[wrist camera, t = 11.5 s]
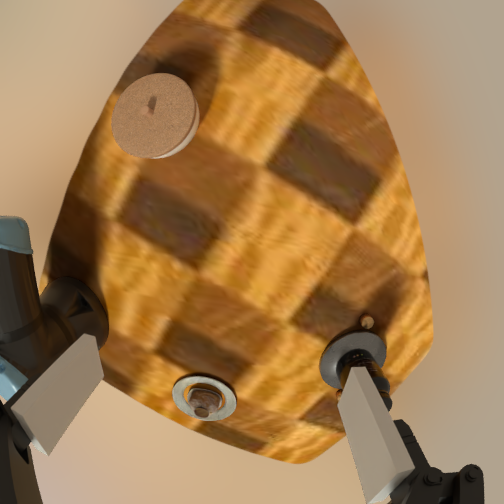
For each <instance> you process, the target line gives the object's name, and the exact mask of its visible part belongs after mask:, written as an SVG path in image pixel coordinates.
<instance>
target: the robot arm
mask: <svg viewBox="0 0 504 504" xmlns="http://www.w3.org/2000/svg"><path fill="white" fill-rule="evenodd" d="M32 254H33V250H32V249H31V243H30V236H29V228H28V225H27V223H26V221H25V220H24V219H22V218H20V217H15V216H0V395H1V396H2V397H3V398H4V399H5V400H7V402H6V403H5V404H4V405H3V403H2V402H1V400H0V504H43V502H42V499H41V495H40V491H39V488H38V484H37V479H36V475H35V471H34V465H33V460H32V455H31V449H30V447H29V444H30V442H32V443H33V445H34V446H35V448H36V449H37V450H39V451H40V452H42V453H44V454H45V455H47V456H49V455H50V453H51V452H52V450H53V449H54V447H55V446H56V444H57V442H58V441H59V440H60V438H61V437H62V435H63V434H64V432H65V431H66V429H67V428H68V426H69V425H70V423H71V422H72V421H73V419H74V417H75V416H76V415H77V413H78V412H79V410H80V409H81V407H82V406H83V405H84V403H85V402H86V400H87V399H88V398H89V396H90V395H91V393H92V392H93V391H94V389H95V388H96V386H97V385H98V384H99V383H100V381H101V380H102V378H103V377H104V374H103V370H102V366H101V362H100V357H99V353H98V351H99V350H100V348H101V347H102V346H103V345H104V344H105V342H106V340H107V337H108V330H109V329H108V321H107V317H106V314H105V311H104V309H103V307H102V305H101V303H100V301H99V300H98V298H97V297H96V295H95V294H94V293H93V292H92V291H91V290H90V289H89V288H88V287H87V286H86V285H85V284H84V283H82V282H81V281H79V280H77V279H75V278H71V277H60V278H58V279H56V280H54V281H52V282H51V283H49V284H48V285H47V286H46V287H45V289H44V291H43V292H42V294H41V295H40V296H39V293H38V288H37V283H36V277H35V271H34V264H33V257H32ZM337 406H338V409H339V412H340V415H341V418H342V421H343V425H344V428H345V431H346V434H347V438H348V441H349V444H350V448H351V451H352V454H353V458H354V461H355V464H356V468H357V471H358V475H359V478H360V482H361V485H362V489H363V493H364V496H365V500H366V504H371V503H376V502H380V501H383V500H384V499H385V498H387V497H388V496H389V495H390V498H391V501H390V502H389V503H388V504H484V480H483V472H482V470H481V469H480V467H478V466H477V465H473V464H470V465H466V466H465V467H463V468H462V469H461V470H460V471H459V472H453V473H443V472H441V470H439V469H437V468H435V467H430V465H429V464H428V462H427V460H426V458H425V456H424V454H423V452H422V450H421V448H420V446H419V444H418V443H417V440H416V438H415V436H413V433H412V431H411V429H410V427H409V425H407V424H406V423H405V422H404V421H403V420H402V419H400V420H394V421H393V420H392V418H391V416H390V414H389V412H388V410H387V408H386V406H385V404H384V402H383V400H382V398H381V396H380V394H379V392H378V390H377V388H376V386H375V384H374V383H373V381H372V379H371V377H370V375H369V373H368V371H367V369H366V367H351V370H350V373H349V376H348V379H347V382H346V384H345V387H344V390H343V392H342V395H341V398H340V400H339V403H338V405H337Z"/></svg>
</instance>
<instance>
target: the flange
mask: <svg viewBox="0 0 504 504" xmlns="http://www.w3.org/2000/svg"><path fill="white" fill-rule="evenodd" d="M359 321H360V323H361V325H362V326H363V328H365V329H369V328H371V327H372V326H373V324H374V320H373V318H372V317H371V316H370V315H369V314H363V315H362V316H361V317H360V319H359ZM354 349H365V350H367V351H369V352H370V353H371V354H372V356H373V357H374V359H375V360H376V362H377V363H378V365H379V367H380V368H382V366H383V364H384V362H385V359H386V347H385V344H384V342H383V341H382V339H381V338H380V337H379V336H378V335H377V334H375V333H374V332H371V331H367V330H356V331H351V332H348V333H345V334H343V335H341V336H339V337H338V338H336V339H335V340H334V341H332V342H331V343H330V344H329V345H328V346H327V348H326V349H325V350H324V352H323V354H322V356H321V358H320V363H319V369H320V373H321V376H322V378H323V380H324V381H325V382H326V383H327V384H328V385H330V386H332V387H334V388H338V389H342V387H341V385H340V382H339V379H338V377H337V374H336V365H337V363H338V361H339V359H340V358H341V357H342V356H343V355H344V354H345V353H347V352H349V351H351V350H354ZM342 392H343V390H339V391H338V392H337V393H336V397H337V400H338V401H339V400H340V398H341V395H342Z"/></svg>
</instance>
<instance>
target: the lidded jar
mask: <svg viewBox="0 0 504 504" xmlns="http://www.w3.org/2000/svg"><path fill="white" fill-rule="evenodd" d="M199 119H200V112H199V106H198V103H197V100H196V98H195V96H194V94H193V92H192V90H191V88H190V87H189V86H188V85H187V83H186V82H185V81H183V80H182V79H181V78H179V77H177V76H175V75H172V74H167V73H155V74H150V75H147V76H144V77H142V78H140V79H138V80H136V81H135V82H134V83H132V84H131V85H130V86H129V87H128V88H126V90H125V91H124V92H123V93H122V94H121V96H120V97H119V99H118V101H117V103H116V105H115V107H114V110H113V114H112V124H111V125H112V132H113V136H114V138H115V140H116V142H117V144H118V145H119V147H120V148H122V149H123V150H124V151H125V152H127V153H128V154H130V155H133V156H136V157H140V158H163V157H167V156H171V155H173V154H175V153H177V152H179V151H180V150H182V149H183V148H184V147H186V146H187V145H188V144H189V143H190V141H191V140H192V139H193V137H194V135H195V133H196V131H197V129H198V125H199Z"/></svg>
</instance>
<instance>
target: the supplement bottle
mask: <svg viewBox="0 0 504 504" xmlns="http://www.w3.org/2000/svg"><path fill="white" fill-rule="evenodd" d="M351 367H366V369H367V371H368V373H369V375H370V377H371V379H372V381H373V383H374V384H375V386H376V388H377V390H378V392H379V394H380V396H381V398H382V400H383V402H384V404H385V406H386V408H387V410H388V412H389V411H390V409H391V407H392V400H391V398H390V396H389V391H390V384H389V381H388V379H387V378H386V376H385V374H384V373H383V371H382V370H381V368H380V367H379V365H378V363H377V362H376V360H375V359H374V357H373V356H372V354H371V353H370V352H369V351H367V350H365V349H354V350H351V351H349V352H347V353H345V354H344V355H343V356H342V357H341V358H340V359H339V361H338V363H337V365H336V374H337V377H338V379H339V382H340V385H341V387H342V390H344V387H345V384H346V382H347V379H348V376H349V373H350V370H351Z"/></svg>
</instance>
